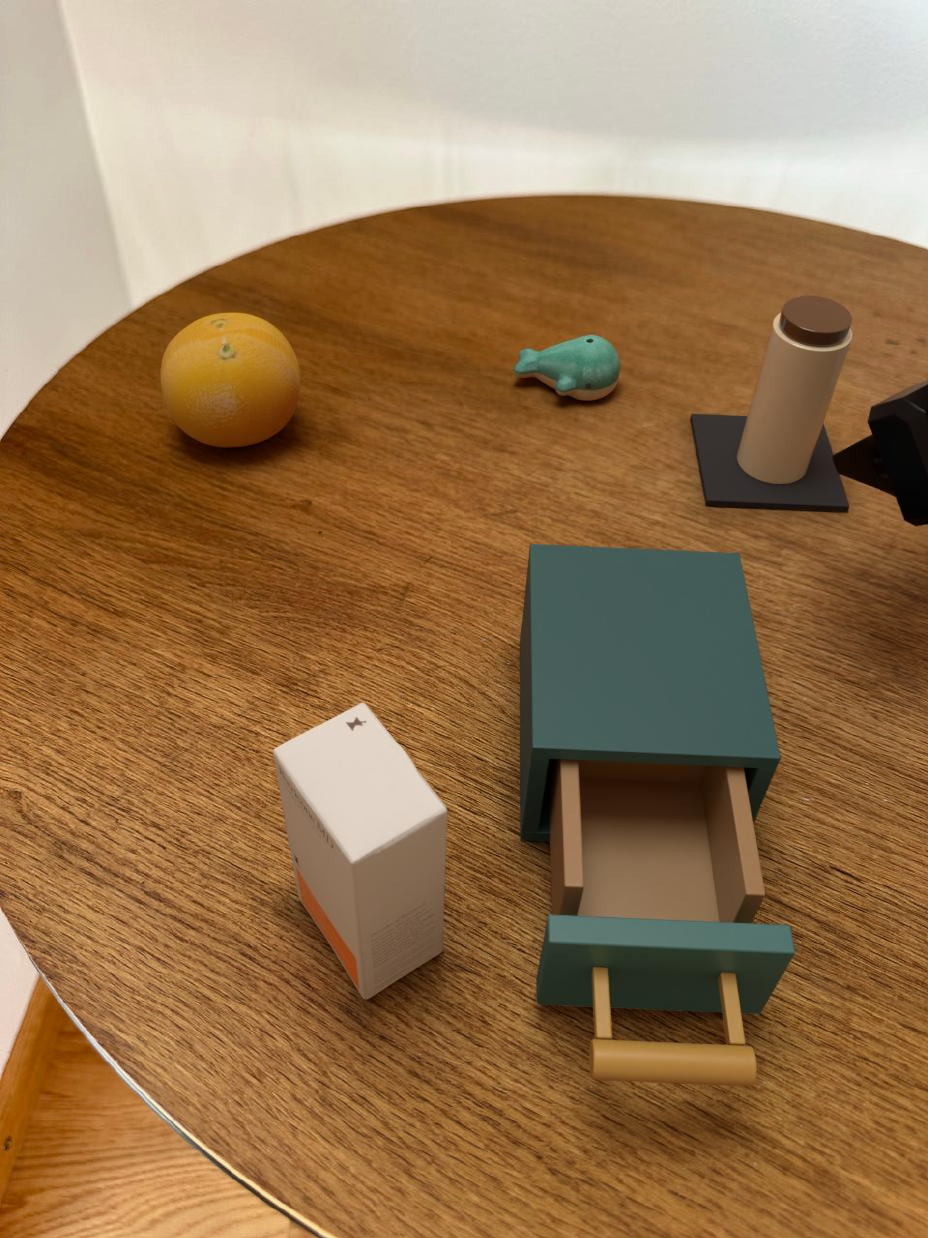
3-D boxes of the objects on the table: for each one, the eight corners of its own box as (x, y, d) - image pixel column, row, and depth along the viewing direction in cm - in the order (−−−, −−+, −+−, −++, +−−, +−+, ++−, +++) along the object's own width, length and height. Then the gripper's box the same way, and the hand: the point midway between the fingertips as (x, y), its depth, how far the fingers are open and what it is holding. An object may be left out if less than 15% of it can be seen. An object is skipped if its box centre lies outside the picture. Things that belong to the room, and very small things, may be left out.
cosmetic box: (294, 900, 49) (267, 745, 40) (375, 853, 51) (365, 695, 42) (364, 1008, 46) (350, 865, 37) (447, 955, 47) (453, 806, 39)
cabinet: (742, 851, 51) (781, 758, 46) (520, 841, 51) (532, 747, 46) (710, 651, 60) (739, 552, 54) (519, 642, 60) (529, 543, 54)
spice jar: (822, 469, 70) (874, 320, 62) (771, 493, 68) (818, 343, 60) (772, 431, 73) (816, 284, 65) (721, 454, 71) (760, 305, 63)
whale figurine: (610, 416, 74) (617, 369, 71) (506, 398, 75) (509, 351, 72) (622, 369, 78) (629, 323, 75) (523, 352, 79) (527, 306, 76)
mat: (820, 424, 74) (822, 418, 74) (847, 512, 68) (849, 506, 68) (690, 418, 74) (691, 413, 74) (705, 505, 68) (707, 499, 68)
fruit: (189, 483, 68) (167, 377, 62) (159, 411, 73) (136, 306, 67) (321, 450, 71) (313, 345, 65) (284, 383, 76) (272, 279, 70)
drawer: (777, 1121, 42) (817, 1066, 38) (537, 1110, 42) (551, 1054, 38) (724, 784, 53) (751, 712, 49) (533, 776, 53) (543, 703, 49)
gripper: (1222, 135, 50) (943, 254, 64) (980, 245, 43) (722, 354, 57) (1292, 359, 52) (1004, 428, 66) (1070, 505, 44) (798, 548, 58)
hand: (889, 434), depth 62 cm, fingers open, 9 cm apart
